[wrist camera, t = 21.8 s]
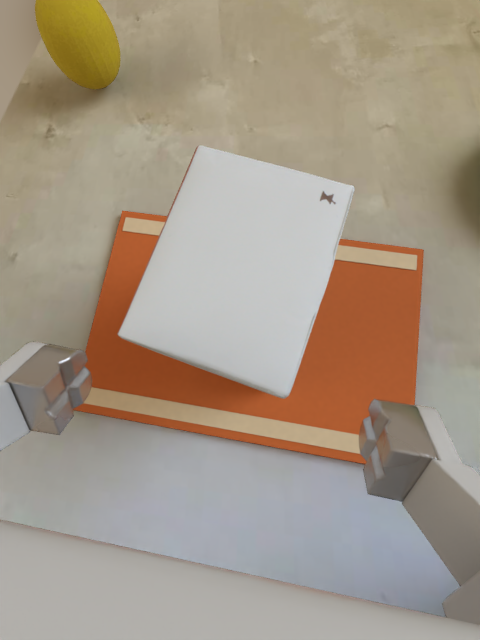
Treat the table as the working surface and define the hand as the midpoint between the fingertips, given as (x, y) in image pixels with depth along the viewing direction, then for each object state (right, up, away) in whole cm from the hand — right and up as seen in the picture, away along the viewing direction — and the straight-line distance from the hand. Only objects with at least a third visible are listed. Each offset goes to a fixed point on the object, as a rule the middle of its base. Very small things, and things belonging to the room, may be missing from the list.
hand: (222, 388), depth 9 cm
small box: (+1, +1, +15) cm, 15 cm away
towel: (+1, +1, +15) cm, 15 cm away
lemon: (-12, +24, +21) cm, 34 cm away
